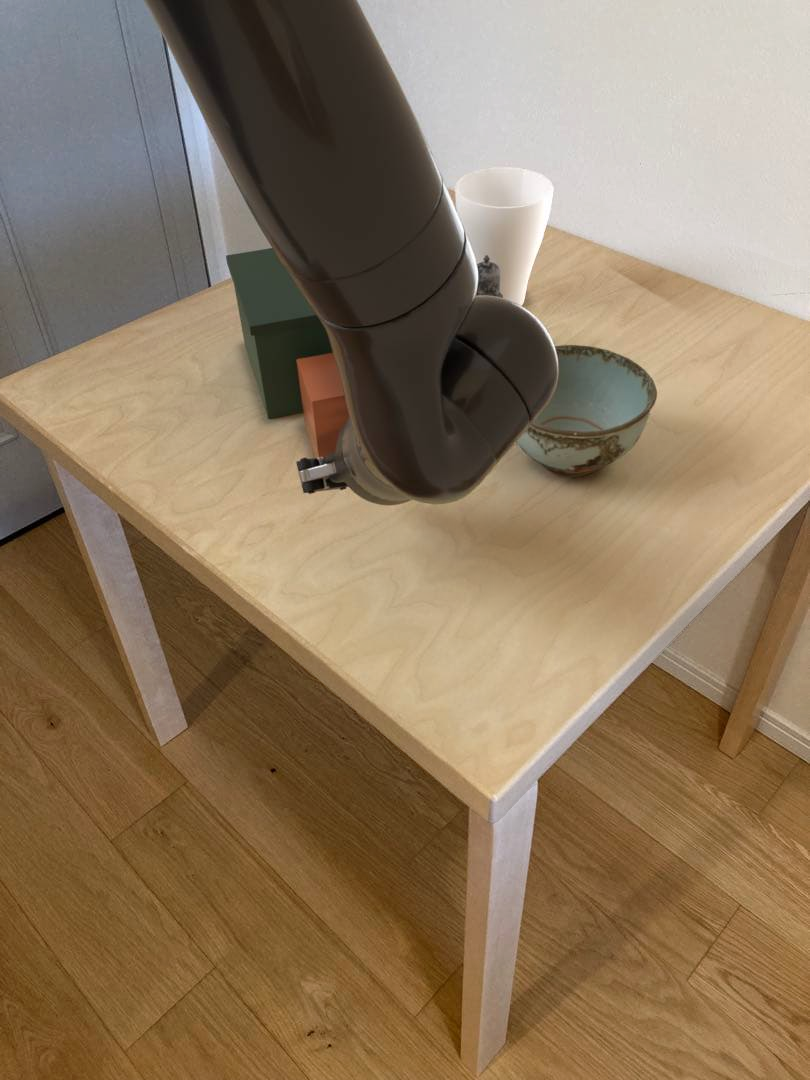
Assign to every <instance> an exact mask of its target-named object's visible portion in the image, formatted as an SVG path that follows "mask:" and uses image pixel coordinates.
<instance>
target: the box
mask: <svg viewBox="0 0 810 1080" xmlns="http://www.w3.org/2000/svg"><path fill="white" fill-rule="evenodd" d="M225 260H226V265H227V267H228V271H229V273H230V276H231V279H232V283H233V286H234V291H235V298H236V303H237V310H238V314H239V320H240V326H241V331H242V337H243V342H244V347H245V351H246V354H247V357H248V360H249V363H250V367H251V370H252V372H253V375H254V379H255V383H256V385H257V388H258V392H259V394H260V398H261V401H262V404H263V407H264V410H265V413H266V417H267V419H268V420H271V419H276V418H280V417H284V416H285V417H286V416H290V415H294V414H300V413H304V412H303V405H302V397H301V390H300V382H299V375H298V368H297V359H301V358H307V357H312V356H318V355H323V354H329V353H333V352H332V349H331V345H330V341H329V338H328V335H327V332H326V330H325V328H324V326H323V324H322V323H321V321H320V319H319V318H318V317H317V315H316V314H315V312H314V310H313V309H312V307H311V306H310V304H309V303H308V301H307V300H306V298H305V297H304V295H303V294H302V292H301V291H300V289H299V288H298V286H297V285H296V283H295V282H294V280H293V279H292V277H291V276H290V274H289V273H288V271H287V270H286V268H285V266H284V265H283V263H282V262H281V260H280V259H279V257H278V256H277V254H276V253H275V251H274V250H273V248H272V247H270V248H263V249H258V250H252V251H251V250H250V251H244V252H239V253H233V254H227V255H225Z"/></svg>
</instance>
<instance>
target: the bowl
mask: <svg viewBox="0 0 810 1080" xmlns="http://www.w3.org/2000/svg"><path fill="white" fill-rule="evenodd" d="M554 346H555V349H556V353H557V357H558V363H559V375H558V382H557V387H556V390H555V393H554V395H553V397H552V399H551V400H550V402H549V404H548V405H547V407H546V408H545V409H544V410H543V412H542V413H541V414H540V415H539V416H538V418H537V419H536V420H535V421H534V422H533V423H532V425H531V426H530V427H528V429H527V430H526V431H525V433H524V434H523V435H522V436H521V437H520V438H519V439H518V441H517V442H516V444H517V445H518V447H519V448H520V449H521V450H522V451H523V452H524V453H525V454H526V455H527V456H528V457H530V458H531V459H532V460H533V461H536V463H539V464H540V465H541V466H542V467H543V468H544V469H545V470H546V471H547V472H550V473H552V474H554V475H558V476H561V477H567V478H575V477H582V476H583V477H584V476H587V475H589V474H592V473H594V472H595V471H596V470H599V469H602V468H604V467H607V466H609V465H611V464H612V463H614V462H616V461H617V460H619V459H621V458H623V457H624V456H625V455H626V454H627V453H629V451H630V450H632V448H633V447H634V446H635V445H636V443H637V442H638V441H639V440H640V438H641V436H642V434H643V432H644V430H645V428H646V425H647V422H648V420H649V417H650V415H651V411H652V410H653V408H654V406H655V404H656V402H657V398H658V390H657V387H656V384H655V381H654V379H653V378H652V377H651V375H650V374H649V373H648V372H647V370H646V369H645V368H644V367H642V366H641V365H639V364H638V363H636V362H635V361H634V360H632V359H631V358H629V357H626V356H624V355H621V354H619V353H616V352H614V351H611V350H609V349H605V348H600V347H595V346H590V345H579V344H578V345H577V344H566V345H565V344H564V345H554Z"/></svg>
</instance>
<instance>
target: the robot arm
mask: <svg viewBox="0 0 810 1080" xmlns="http://www.w3.org/2000/svg"><path fill="white" fill-rule="evenodd" d="M143 2H144V3H145V5H146V7H147V8H148V11H149V12H150V14H151V16H152V18H153V20H154V21H155V24H156V26H157V27H158V30H159V31H160V33H161V35H162V37H163V39H164V41H165V43H166V44H167V46H168V48H169V50H170V52H171V54H172V56H173V59H174V60H175V63H176V64H177V66H178V68H179V71H180V72H181V75H182V76H183V78H184V81H185V83H186V85H187V87H188V89H189V91H190V93H191V95H192V97H193V100H194V102H195V103H196V105H197V108H198V110H199V111H200V113H201V116H202V118H203V120H204V122H205V125H206V126H207V128H208V130H209V132H210V134H211V136H212V138H213V140H214V142H215V144H216V146H217V149H218V150H219V153H220V155H221V156H222V159H223V161H224V163H225V165H226V167H227V168H228V170H229V173H230V175H231V176H232V179H233V181H234V183H235V185H236V187H237V188H238V191H239V192H240V194H241V196H242V198H243V200H244V201H245V204H246V206H247V207H248V209H249V212H251V215H252V217H253V218H254V220H255V222H256V223H257V225H258V227H259V229H260V230H261V232H262V233H263V235H264V237H265V238H266V240H267V242H268V244H269V245H270V248H273V250H274V251H275V253H276V254H277V256H278V257H279V259H280V260H281V262H282V263H283V265H284V266H285V268H286V270H287V271H288V273H289V274H290V276H291V277H292V279H293V280H294V282H295V283H296V285H297V286H298V288H299V289H300V291H301V292H302V294H303V295H304V297H305V298H306V300H307V301H308V303H309V304H310V306H311V307H312V309H313V310H314V312H315V314H316V315H317V317H318V318H319V319H320V321H321V323H322V324H323V326H324V328H325V330H326V332H327V335H328V338H329V341H330V345H331V349H332V352H333V355H334V358H335V361H336V365H337V368H338V371H339V375H340V379H341V383H342V387H343V391H344V396H345V400H346V404H347V408H348V412H349V416H350V417H349V418H348V420H347V421H346V422H345V424H344V425H343V427H342V429H341V431H340V433H339V436H338V440H337V444H336V450H335V452H333V453H330V454H329V455H328V456H327V457H326V458H323V457H318V458H316V457H312V458H308V457H302V458H300V460H297V461H296V462H295V463H296V468H297V472H298V473H297V474H298V476H299V481H300V484H301V488H302V492H303V494H308V495H311V494H315V493H317V492H325V491H333V490H340V491H343V490H347V488H349V489H350V490H351V491H352V492H353V493H354V494H355V495H357V496H358V497H359V498H361V499H363V500H365V501H367V502H369V503H372V504H375V505H378V506H397V505H403V504H405V503H407V502H411V501H414V502H417V503H421V504H426V505H435V506H436V505H437V506H438V505H447V504H452V503H455V502H457V501H460V500H462V499H464V498H466V497H467V496H468V495H470V494H471V493H472V492H473V491H474V490H476V489H477V488H478V487H479V486H480V485H481V484H482V482H483V481H485V479H486V478H487V477H488V476H489V474H491V472H492V471H493V470H494V469H495V467H496V466H497V465H498V464H499V463H500V461H501V460H502V459H503V458H504V457H505V456H506V454H508V452H509V451H510V450H511V449H512V448H513V446H515V444H517V441H518V439H519V438H520V437H521V436H522V435H523V434H524V433H525V431H526V430H527V429H528V427H530V426H531V425H532V423H533V422H534V421H535V420H536V419H537V418H538V416H539V415H540V414H541V413H542V412H543V410H544V409H545V408H546V407H547V405H548V404H549V402H550V400H551V399H552V397H553V395H554V393H555V390H556V387H557V382H558V375H559V363H558V357H557V353H556V349H555V346H556V345H555V343H554V341H553V338H552V336H551V334H550V333H549V331H548V330H547V328H546V327H545V325H544V324H543V323H542V321H541V320H539V318H537V316H535V315H534V313H532V312H531V311H530V310H528V309H527V308H526V307H524V306H523V305H522V306H521V305H519V304H517V303H515V302H513V301H510V300H508V299H505V298H501V297H496V296H489V295H479V296H476V293H477V287H478V267H477V263H476V259H475V255H474V252H473V249H472V246H471V244H470V241H469V239H468V236H467V234H466V231H465V229H464V227H463V225H462V222H461V220H460V217H459V215H458V212H457V210H456V204H455V203H454V201H453V198H452V196H451V193H450V191H449V189H448V187H447V184H446V182H445V179H444V177H443V175H442V173H441V170H440V168H439V165H438V163H437V161H436V159H435V156H434V154H433V151H432V150H431V147H430V145H429V143H428V140H427V138H426V136H425V134H424V132H423V129H422V127H421V125H420V123H419V121H418V119H417V116H416V115H415V112H414V111H413V108H412V106H411V104H410V102H409V100H408V98H407V96H406V94H405V92H404V90H403V88H402V86H401V83H400V82H399V80H398V77H397V76H396V74H395V72H394V70H393V68H392V66H391V64H390V63H389V61H388V58H387V56H386V55H385V52H384V51H383V48H382V46H381V45H380V42H379V41H378V39H377V37H376V34H375V33H374V31H373V29H372V26H371V25H370V22H369V21H368V19H367V17H366V15H365V13H364V11H363V9H362V7H361V5H360V3H359V2H358V0H143Z"/></svg>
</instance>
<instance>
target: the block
mask: <svg viewBox="0 0 810 1080" xmlns="http://www.w3.org/2000/svg"><path fill="white" fill-rule="evenodd" d="M297 368H298V375H299V382H300V390H301V397H302V405H303V412H302V413H303V419H304V426H305V430H306V433H307V436H308V439H309V442H310V445H311V447H312V451H313V453H314V458H318V457H323V458H326V457H327V456H328V455H329V454H330V453H333V452H335V450H336V444H337V440H338V436H339V433H340V431H341V429H342V427H343V425H344V424H345V422H346V421H347V420H348V418H349V417H350V416H349V412H348V408H347V404H346V400H345V396H344V391H343V387H342V383H341V379H340V375H339V371H338V368H337V365H336V361H335V358H334V355H333V353H329V354H323V355H318V356H312V357H307V358H301V359H297Z"/></svg>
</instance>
